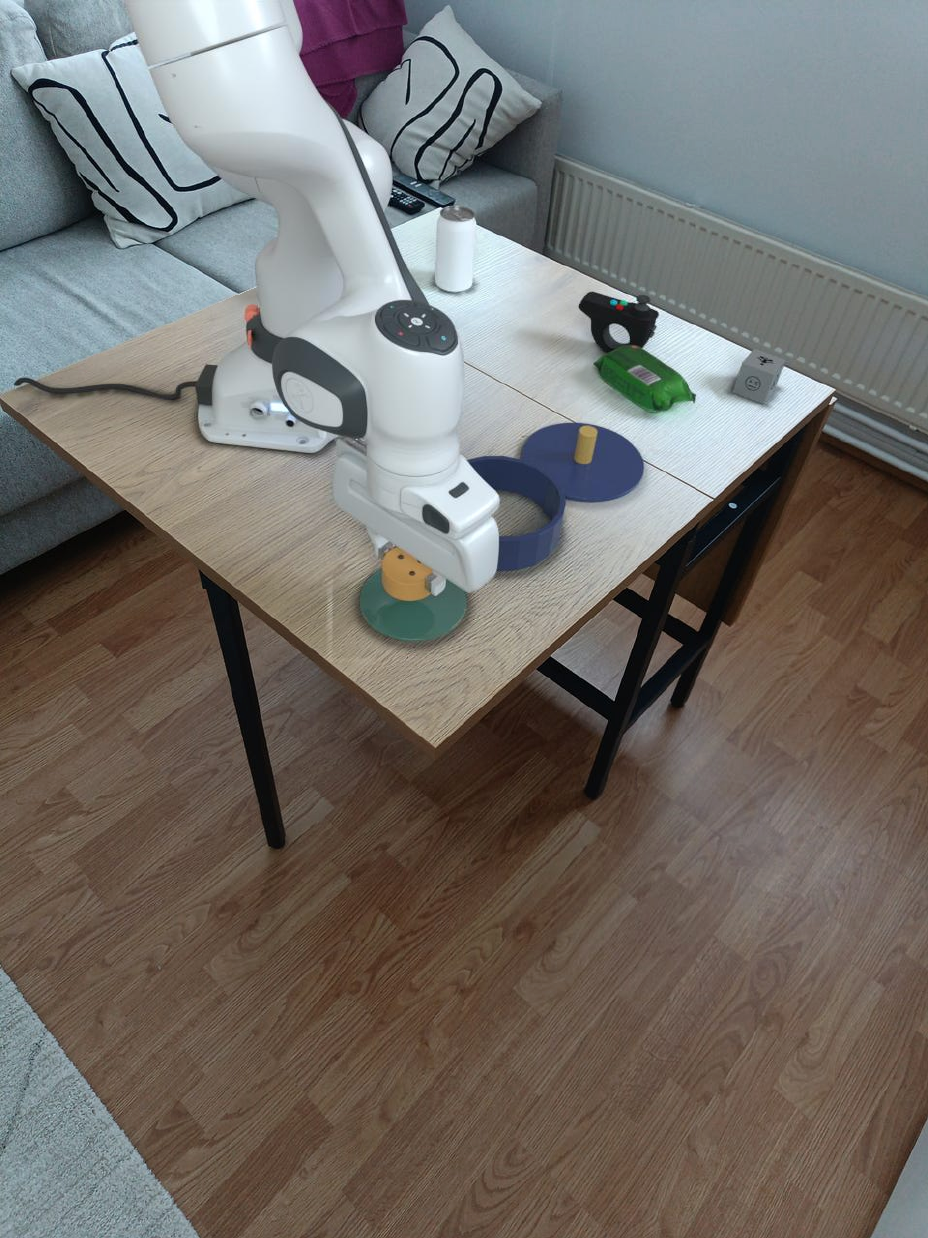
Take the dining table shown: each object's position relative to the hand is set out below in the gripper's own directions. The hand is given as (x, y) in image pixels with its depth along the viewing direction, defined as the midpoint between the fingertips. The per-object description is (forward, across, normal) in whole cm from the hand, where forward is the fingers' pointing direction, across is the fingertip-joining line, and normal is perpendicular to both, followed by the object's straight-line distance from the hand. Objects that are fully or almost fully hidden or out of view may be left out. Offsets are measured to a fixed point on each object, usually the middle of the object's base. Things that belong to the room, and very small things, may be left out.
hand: (410, 573), depth 95 cm
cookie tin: (+5, -1, +17) cm, 18 cm away
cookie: (+1, 0, 0) cm, 1 cm away
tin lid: (+4, 0, +35) cm, 35 cm away
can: (+5, -45, +60) cm, 75 cm away
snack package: (+5, -4, +55) cm, 55 cm away
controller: (+5, -14, +62) cm, 64 cm away
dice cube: (+5, +8, +68) cm, 69 cm away
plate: (+5, 0, 0) cm, 5 cm away
